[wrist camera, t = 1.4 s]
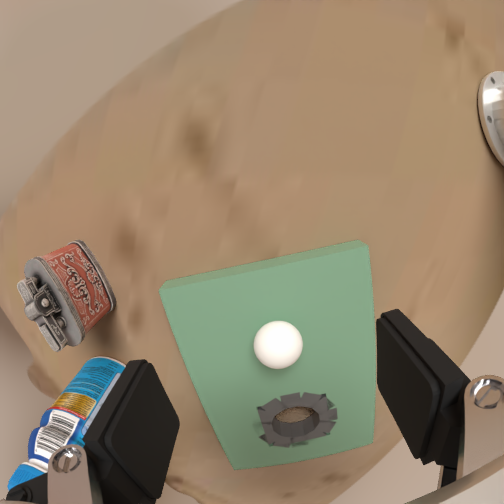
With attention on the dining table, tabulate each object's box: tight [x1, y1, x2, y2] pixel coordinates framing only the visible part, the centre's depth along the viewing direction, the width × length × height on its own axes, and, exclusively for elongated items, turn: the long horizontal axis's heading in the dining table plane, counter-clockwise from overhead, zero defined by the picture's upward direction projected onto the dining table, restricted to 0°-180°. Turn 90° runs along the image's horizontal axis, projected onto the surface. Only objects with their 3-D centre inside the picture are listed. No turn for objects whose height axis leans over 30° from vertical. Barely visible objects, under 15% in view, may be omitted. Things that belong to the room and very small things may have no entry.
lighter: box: [17, 240, 116, 352], centre depth 22 cm, size 8×3×10 cm, turn 26°
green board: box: [159, 240, 376, 470], centre depth 28 cm, size 26×18×2 cm
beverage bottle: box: [8, 356, 126, 490], centre depth 20 cm, size 8×8×20 cm
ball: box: [254, 321, 303, 369], centre depth 23 cm, size 4×4×4 cm
